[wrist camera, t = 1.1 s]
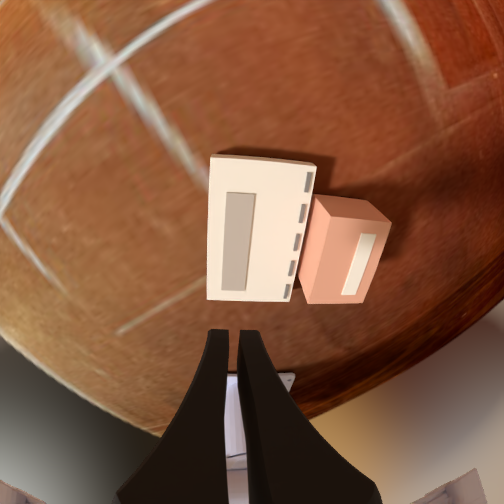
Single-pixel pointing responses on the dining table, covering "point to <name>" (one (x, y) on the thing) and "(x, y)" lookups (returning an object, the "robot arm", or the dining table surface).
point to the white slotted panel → (256, 226)
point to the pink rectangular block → (341, 249)
